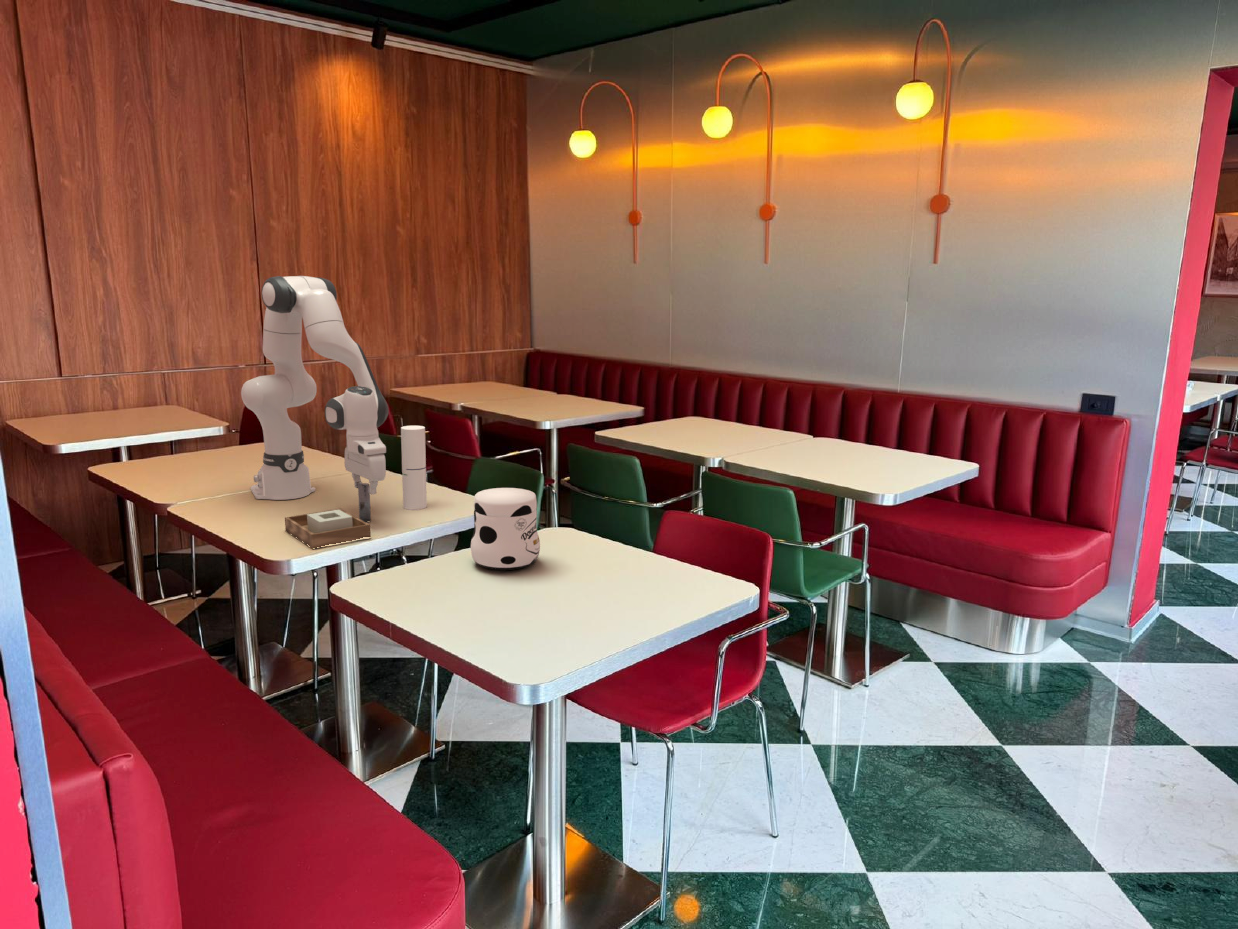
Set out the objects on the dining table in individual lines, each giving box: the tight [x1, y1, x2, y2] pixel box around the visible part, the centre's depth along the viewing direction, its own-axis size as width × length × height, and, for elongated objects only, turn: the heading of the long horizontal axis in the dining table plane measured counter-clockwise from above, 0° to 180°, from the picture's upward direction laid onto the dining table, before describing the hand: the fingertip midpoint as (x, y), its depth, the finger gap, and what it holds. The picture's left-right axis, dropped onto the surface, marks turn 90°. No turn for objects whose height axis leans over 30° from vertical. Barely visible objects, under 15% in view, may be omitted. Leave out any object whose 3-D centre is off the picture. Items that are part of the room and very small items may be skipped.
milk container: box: [470, 487, 541, 571], centre depth 217 cm, size 17×17×18 cm
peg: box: [357, 482, 372, 523], centre depth 252 cm, size 3×3×11 cm
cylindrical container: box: [400, 425, 428, 511], centre depth 267 cm, size 7×7×25 cm
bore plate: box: [306, 509, 353, 534], centre depth 236 cm, size 9×9×5 cm
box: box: [284, 508, 372, 549], centre depth 238 cm, size 20×16×4 cm
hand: (365, 490), depth 251 cm, fingers open, 8 cm apart
